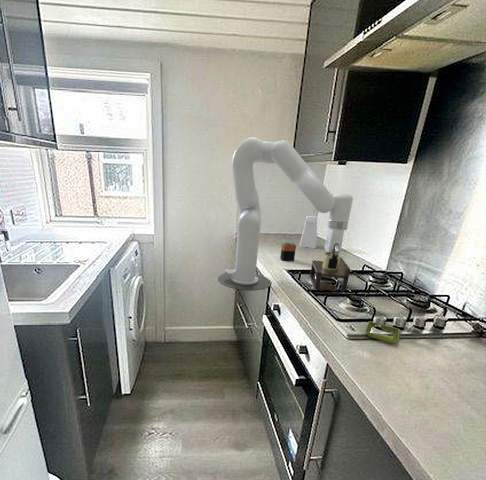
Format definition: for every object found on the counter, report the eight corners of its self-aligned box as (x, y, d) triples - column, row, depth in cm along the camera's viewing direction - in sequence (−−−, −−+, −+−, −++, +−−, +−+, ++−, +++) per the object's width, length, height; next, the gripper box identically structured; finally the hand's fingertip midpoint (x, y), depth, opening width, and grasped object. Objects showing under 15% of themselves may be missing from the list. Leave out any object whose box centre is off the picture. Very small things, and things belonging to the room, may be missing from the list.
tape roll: (323, 269, 128) (325, 256, 126) (321, 265, 134) (323, 253, 132) (339, 271, 126) (341, 258, 125) (336, 267, 132) (338, 254, 131)
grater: (299, 243, 213) (303, 215, 207) (315, 245, 211) (320, 216, 204) (299, 246, 204) (304, 217, 197) (316, 248, 201) (321, 218, 195)
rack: (314, 291, 125) (318, 265, 122) (309, 276, 144) (313, 254, 140) (345, 294, 123) (350, 269, 120) (336, 279, 142) (340, 256, 138)
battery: (279, 258, 171) (282, 241, 168) (291, 259, 172) (293, 241, 169) (282, 260, 167) (284, 243, 164) (294, 261, 168) (296, 243, 165)
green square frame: (367, 326, 97) (368, 320, 97) (398, 334, 93) (400, 328, 92) (363, 337, 90) (365, 331, 90) (396, 347, 86) (398, 340, 85)
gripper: (325, 221, 133) (318, 259, 138) (331, 227, 117) (323, 269, 122) (343, 223, 131) (335, 260, 137) (352, 229, 115) (343, 272, 121)
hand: (330, 265), depth 130 cm, fingers open, 9 cm apart
